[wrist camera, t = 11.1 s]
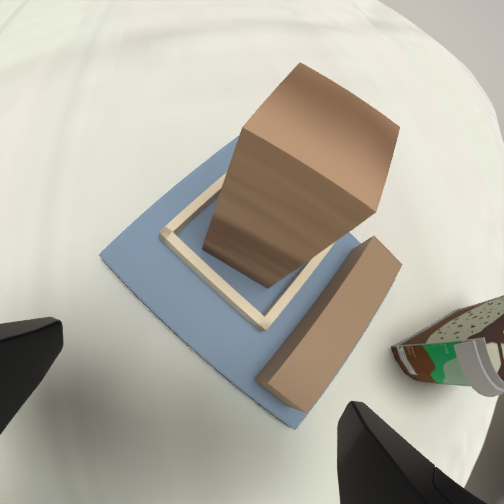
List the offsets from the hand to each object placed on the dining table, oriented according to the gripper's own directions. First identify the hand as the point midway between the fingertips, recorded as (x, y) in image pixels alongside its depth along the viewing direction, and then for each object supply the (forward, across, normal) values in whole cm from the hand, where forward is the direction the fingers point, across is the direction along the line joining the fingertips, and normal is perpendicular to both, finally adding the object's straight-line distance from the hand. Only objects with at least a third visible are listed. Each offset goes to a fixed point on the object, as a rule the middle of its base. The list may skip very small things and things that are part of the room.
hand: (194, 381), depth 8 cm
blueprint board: (+14, -1, +1) cm, 14 cm away
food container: (+15, -18, +5) cm, 24 cm away
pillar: (+14, 0, -2) cm, 14 cm away
